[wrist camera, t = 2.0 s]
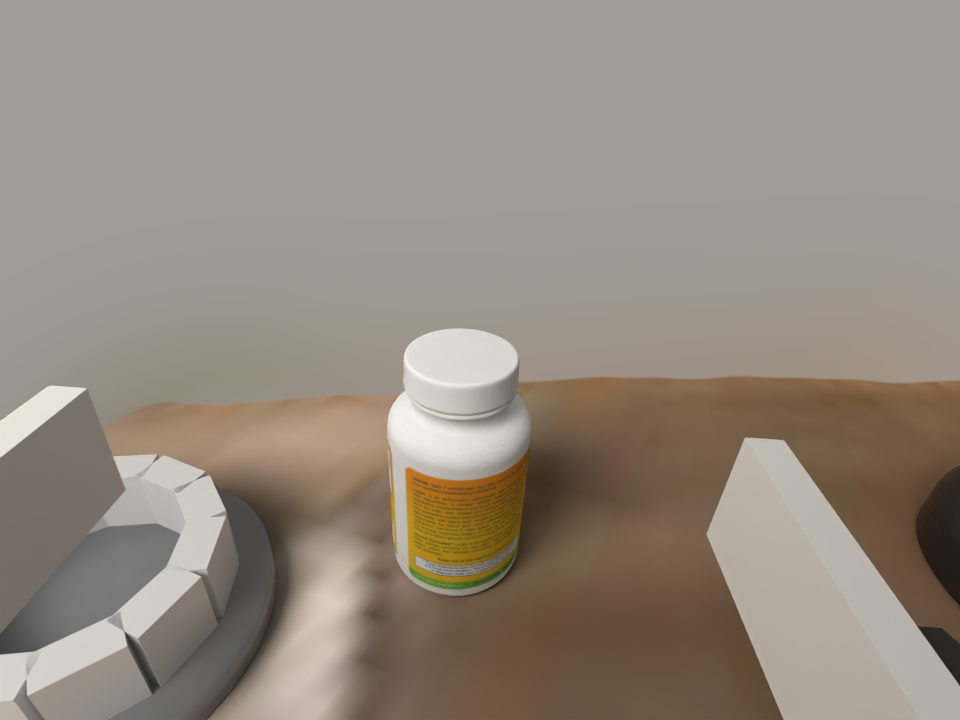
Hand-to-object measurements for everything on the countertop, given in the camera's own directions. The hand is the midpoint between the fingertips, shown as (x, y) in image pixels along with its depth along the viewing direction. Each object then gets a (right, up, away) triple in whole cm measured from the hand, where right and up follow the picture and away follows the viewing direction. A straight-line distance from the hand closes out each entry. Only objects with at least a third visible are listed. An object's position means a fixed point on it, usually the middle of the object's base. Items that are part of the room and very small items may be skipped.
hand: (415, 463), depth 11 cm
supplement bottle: (0, -7, +16) cm, 18 cm away
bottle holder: (-15, -9, +12) cm, 21 cm away
